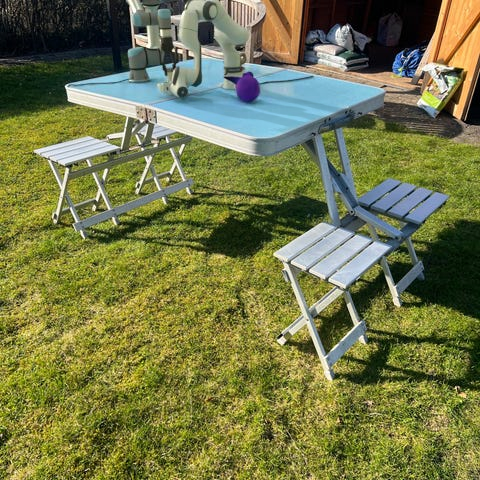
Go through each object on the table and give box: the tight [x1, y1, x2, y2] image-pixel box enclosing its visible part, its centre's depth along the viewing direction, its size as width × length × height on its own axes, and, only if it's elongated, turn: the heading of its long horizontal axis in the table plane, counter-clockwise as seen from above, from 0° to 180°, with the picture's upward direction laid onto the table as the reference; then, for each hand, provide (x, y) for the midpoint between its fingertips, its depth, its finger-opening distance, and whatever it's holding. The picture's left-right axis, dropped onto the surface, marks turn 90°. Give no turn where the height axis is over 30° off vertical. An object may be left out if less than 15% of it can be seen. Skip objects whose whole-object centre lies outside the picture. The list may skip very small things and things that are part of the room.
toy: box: [223, 71, 261, 103], centre depth 276 cm, size 16×18×27 cm
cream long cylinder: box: [166, 72, 174, 96], centre depth 296 cm, size 4×4×16 cm
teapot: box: [222, 52, 247, 67], centre depth 367 cm, size 21×12×15 cm, turn 120°
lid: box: [166, 66, 173, 72], centre depth 292 cm, size 5×5×2 cm
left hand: (169, 75), depth 294 cm, fingers closed on lid, 5 cm apart
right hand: (170, 83), depth 297 cm, fingers closed on cream long cylinder, 4 cm apart
